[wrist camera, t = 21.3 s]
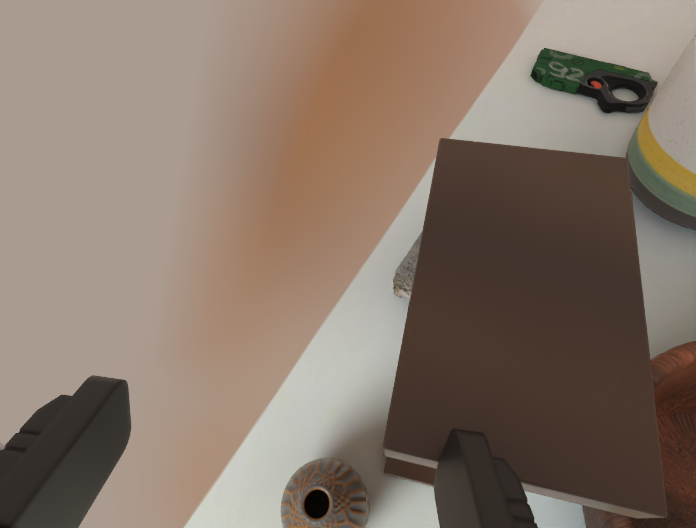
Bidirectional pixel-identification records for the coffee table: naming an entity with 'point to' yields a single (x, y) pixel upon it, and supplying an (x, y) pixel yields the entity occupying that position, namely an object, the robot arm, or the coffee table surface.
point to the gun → (593, 80)
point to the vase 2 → (668, 146)
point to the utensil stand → (531, 328)
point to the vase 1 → (325, 497)
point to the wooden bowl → (668, 443)
